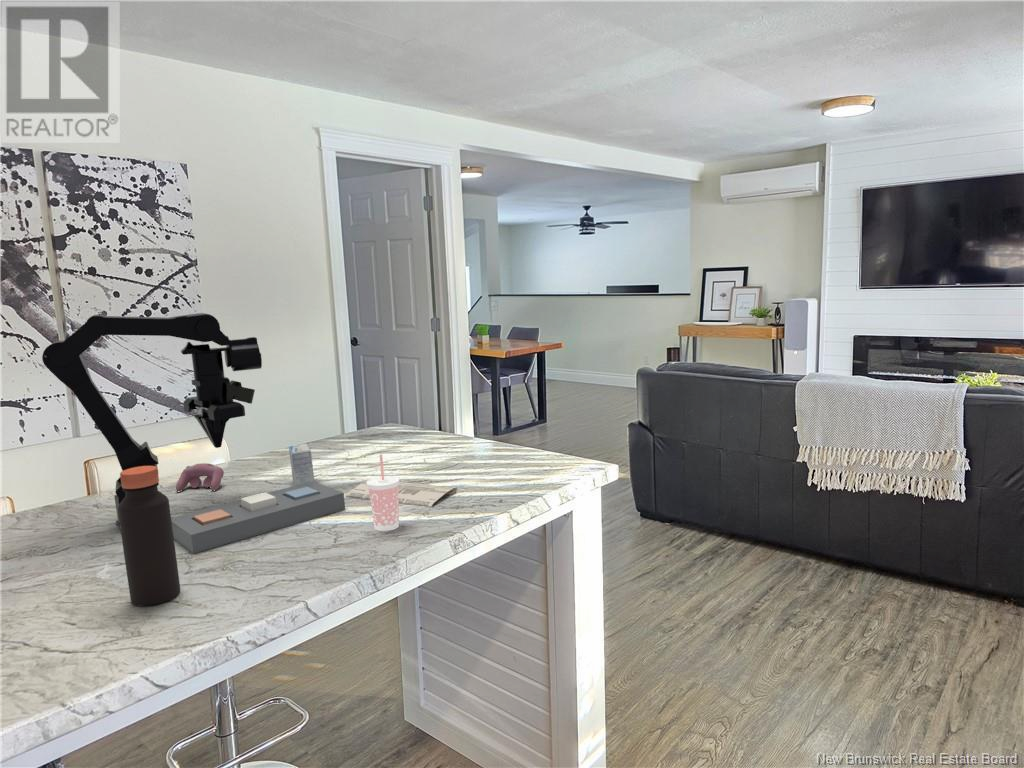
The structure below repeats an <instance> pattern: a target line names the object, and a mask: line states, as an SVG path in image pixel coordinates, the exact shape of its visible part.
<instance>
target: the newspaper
mask: <svg viewBox="0 0 1024 768" xmlns="http://www.w3.org/2000/svg"><path fill="white" fill-rule="evenodd" d="M370 479H371V478H370ZM370 479H368V480H370ZM368 480H365V481H364V482H362V483H360V484H358V485H357V486H355V487H354V488H353V489H351V490H349V491H348V492H347V493H346V494H345V498H348V499H349V498H350V499H357V500H366V501H370V495H369V488H367V481H368ZM457 490H458V487H457V486H456V487H455V486H443V485H433V484H424V483H415V482H403V481H399V485H398V502H399V504H401V505H410V506H418V507H426V508H427V507H428V508H432V507H433V505H434V504H435V503H436V502H437V501H438V500H439V499H441V498H442V497H443V496H444V495H453V494H456V492H457Z"/></svg>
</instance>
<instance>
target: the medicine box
mask: <svg viewBox="0 0 1024 768" xmlns="http://www.w3.org/2000/svg"><path fill="white" fill-rule="evenodd" d="M288 448H289V459H290V466H291V467H290V468H291V469H290V470H291V476H292V478H291V479H292V481H293V484H294V485H293V486H297V485H301V484H305V483H309V482H312V481H314V482H315V475H314V474H315V473H314V466H313V457H312V451H311V449H310V447H309V444H308V443H303V444H294V445H290V446H289V447H288Z"/></svg>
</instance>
